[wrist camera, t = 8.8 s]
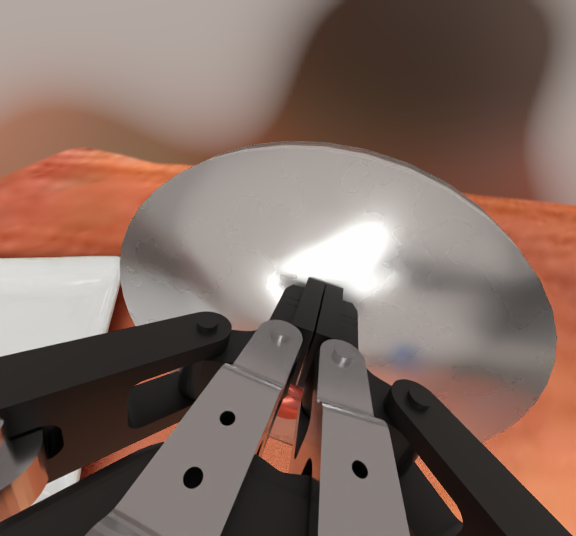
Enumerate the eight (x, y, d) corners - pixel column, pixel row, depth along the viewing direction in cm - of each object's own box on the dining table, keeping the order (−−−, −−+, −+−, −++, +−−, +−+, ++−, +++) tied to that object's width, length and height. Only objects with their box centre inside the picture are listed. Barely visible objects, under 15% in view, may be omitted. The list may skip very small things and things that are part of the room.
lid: (402, 473, 21) (404, 509, 19) (159, 379, 23) (141, 404, 22) (726, 242, 8) (822, 290, 6) (92, 78, 10) (33, 79, 8)
